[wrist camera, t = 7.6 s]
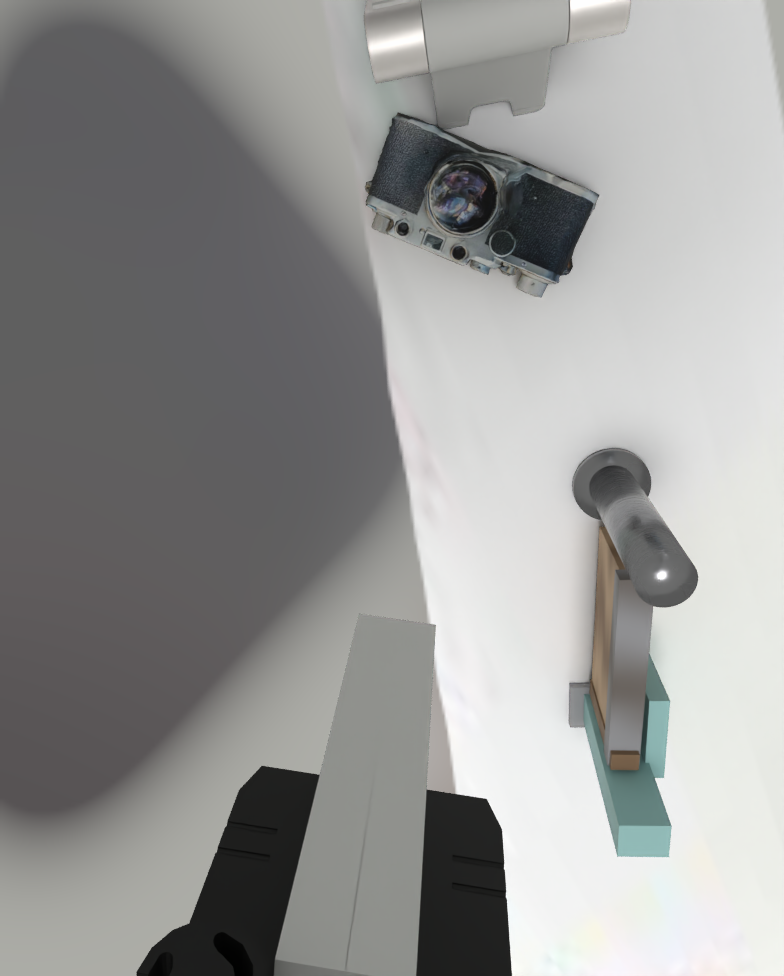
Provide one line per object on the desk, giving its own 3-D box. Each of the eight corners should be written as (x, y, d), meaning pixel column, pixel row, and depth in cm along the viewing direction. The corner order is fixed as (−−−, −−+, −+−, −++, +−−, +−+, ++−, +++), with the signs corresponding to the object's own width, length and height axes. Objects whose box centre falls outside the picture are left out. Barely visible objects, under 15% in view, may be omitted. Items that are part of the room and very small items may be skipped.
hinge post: (572, 450, 36) (615, 537, 26) (651, 446, 36) (724, 533, 26) (572, 519, 38) (612, 625, 28) (647, 516, 37) (714, 623, 27)
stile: (570, 634, 40) (604, 759, 31) (640, 633, 40) (695, 759, 31) (569, 722, 43) (600, 863, 33) (634, 722, 42) (685, 864, 33)
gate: (595, 526, 37) (620, 583, 31) (626, 526, 37) (657, 582, 31) (587, 693, 41) (608, 769, 35) (615, 693, 41) (640, 770, 35)
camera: (551, 302, 34) (563, 313, 30) (357, 219, 33) (343, 220, 29) (601, 198, 32) (620, 196, 28) (395, 108, 31) (386, 93, 27)
